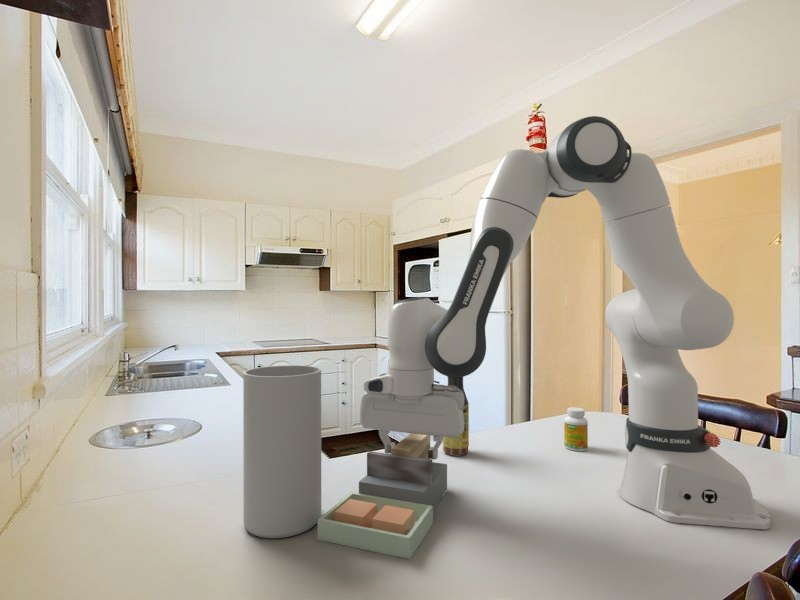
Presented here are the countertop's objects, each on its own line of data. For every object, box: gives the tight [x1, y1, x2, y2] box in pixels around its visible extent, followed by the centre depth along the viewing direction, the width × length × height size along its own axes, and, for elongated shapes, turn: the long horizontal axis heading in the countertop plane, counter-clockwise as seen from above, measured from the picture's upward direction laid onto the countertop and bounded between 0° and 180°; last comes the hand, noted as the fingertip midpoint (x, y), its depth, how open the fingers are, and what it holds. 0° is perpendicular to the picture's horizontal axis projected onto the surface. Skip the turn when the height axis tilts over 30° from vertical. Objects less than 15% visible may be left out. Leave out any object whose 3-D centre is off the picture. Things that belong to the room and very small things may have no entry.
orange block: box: [335, 499, 377, 528], centre depth 73 cm, size 5×5×3 cm
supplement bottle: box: [563, 406, 589, 452], centre depth 113 cm, size 5×5×10 cm
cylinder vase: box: [242, 365, 322, 539], centre depth 76 cm, size 12×12×25 cm
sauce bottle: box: [442, 376, 470, 456], centre depth 110 cm, size 7×6×20 cm
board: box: [358, 461, 448, 510], centre depth 84 cm, size 12×14×5 cm
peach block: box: [372, 505, 414, 535], centre depth 71 cm, size 5×5×3 cm
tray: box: [317, 491, 434, 560], centre depth 72 cm, size 15×11×3 cm
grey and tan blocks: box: [366, 433, 433, 485], centre depth 86 cm, size 12×13×5 cm
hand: (410, 455), depth 87 cm, fingers open, 7 cm apart
